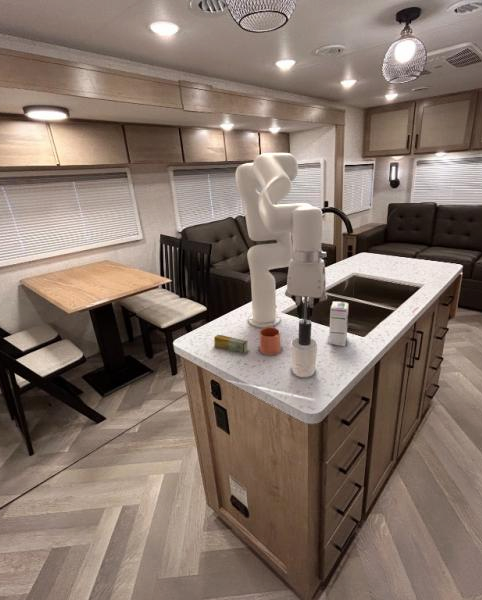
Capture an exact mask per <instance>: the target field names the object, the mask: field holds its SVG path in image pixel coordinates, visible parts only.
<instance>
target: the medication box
mask: <svg viewBox="0 0 482 600" xmlns="http://www.w3.org/2000/svg"><path fill="white" fill-rule="evenodd" d="M213 339H214V348H218V349H222V350H224V351H225V350H226V351H229V352H234V353H239V354H246V353H247V352H248V340H245V339H240V338H236V337H231V336H226V335H223V334H216V335H215V336H214V338H213Z"/></svg>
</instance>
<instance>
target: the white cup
mask: <svg viewBox="0 0 482 600" xmlns="http://www.w3.org/2000/svg"><path fill="white" fill-rule="evenodd" d="M298 342H299V337H296V338H294V339H293V340H291V342H290V352H291V353H290V355H291V365H292V366H291V367H292V372H293V375H295V376H297V377H300V378H308V377H311V376H313V375H314V374H315V369H316V364H317V354H318V346H319V345H318V341H317V340H315V339H314V338H312V337H311V343H310V345H308V346H302V345H300V344H299V343H298Z"/></svg>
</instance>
